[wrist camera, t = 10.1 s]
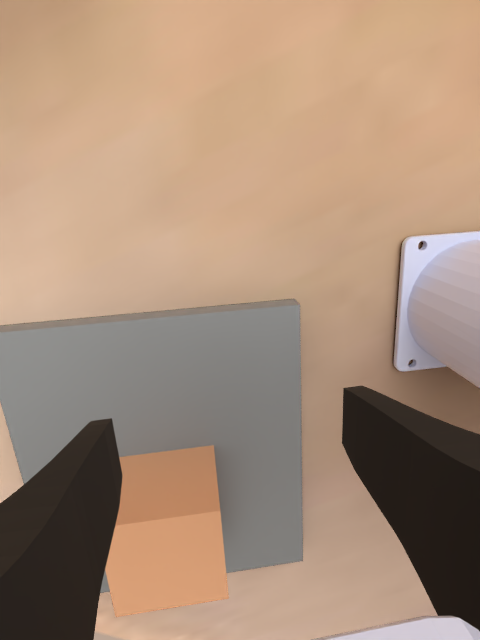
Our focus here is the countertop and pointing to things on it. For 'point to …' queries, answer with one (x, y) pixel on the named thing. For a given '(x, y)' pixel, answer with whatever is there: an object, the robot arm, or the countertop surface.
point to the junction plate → (175, 405)
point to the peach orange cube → (167, 533)
